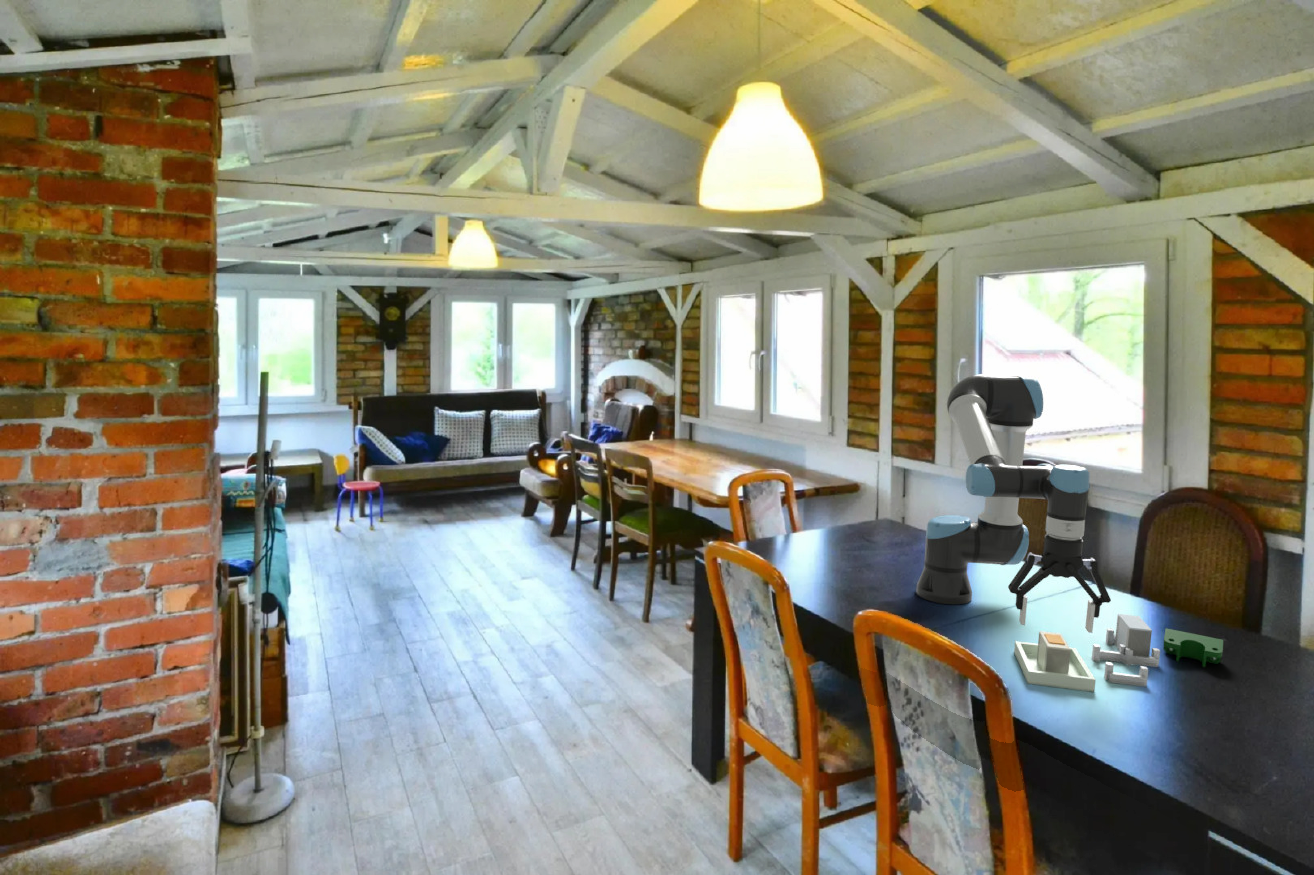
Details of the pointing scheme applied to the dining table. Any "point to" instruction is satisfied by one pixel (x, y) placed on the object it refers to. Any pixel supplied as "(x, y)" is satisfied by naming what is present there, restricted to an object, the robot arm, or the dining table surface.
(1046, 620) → the dining table surface
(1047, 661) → the block
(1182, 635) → the clamp
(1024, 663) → the tray
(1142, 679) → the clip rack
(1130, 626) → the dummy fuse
